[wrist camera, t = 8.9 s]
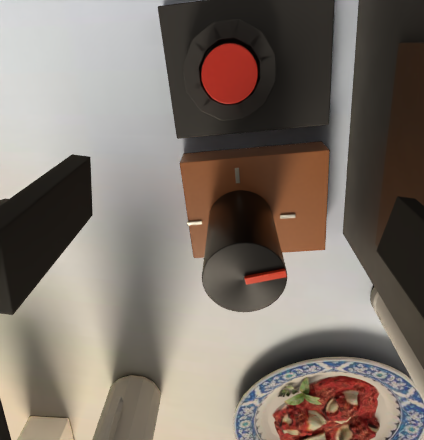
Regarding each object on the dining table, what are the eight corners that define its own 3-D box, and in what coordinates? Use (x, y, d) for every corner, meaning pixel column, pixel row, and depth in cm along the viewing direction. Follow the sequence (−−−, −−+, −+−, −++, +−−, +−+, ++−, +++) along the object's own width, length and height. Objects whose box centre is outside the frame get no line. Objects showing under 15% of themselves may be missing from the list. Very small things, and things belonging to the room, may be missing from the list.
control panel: (196, 251, 39) (193, 268, 36) (182, 153, 34) (178, 163, 31) (318, 244, 38) (325, 260, 35) (321, 141, 33) (330, 150, 30)
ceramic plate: (435, 445, 52) (447, 467, 49) (269, 478, 58) (271, 499, 55) (401, 320, 42) (412, 339, 39) (203, 375, 48) (201, 395, 45)
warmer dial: (218, 252, 35) (214, 321, 27) (201, 198, 33) (191, 255, 24) (277, 239, 34) (294, 307, 26) (265, 183, 32) (279, 236, 23)
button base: (180, 132, 33) (173, 144, 29) (163, 9, 29) (152, 3, 25) (322, 119, 32) (335, 130, 28) (326, -12, 28) (343, -21, 24)
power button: (206, 102, 28) (204, 106, 26) (200, 46, 26) (198, 46, 24) (257, 97, 28) (259, 101, 26) (254, 40, 26) (256, 39, 24)
